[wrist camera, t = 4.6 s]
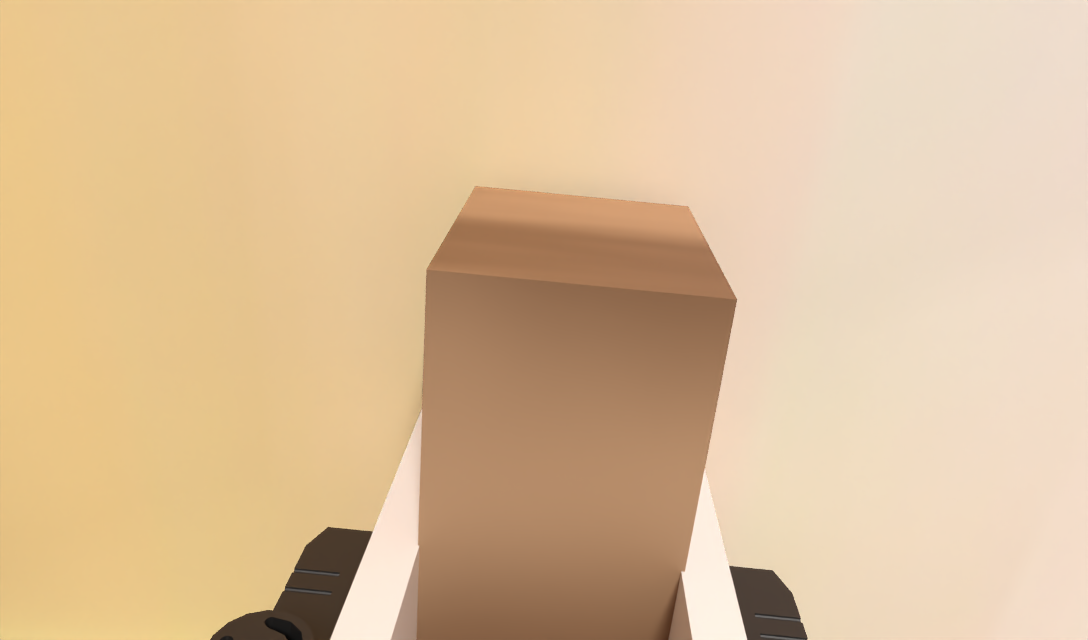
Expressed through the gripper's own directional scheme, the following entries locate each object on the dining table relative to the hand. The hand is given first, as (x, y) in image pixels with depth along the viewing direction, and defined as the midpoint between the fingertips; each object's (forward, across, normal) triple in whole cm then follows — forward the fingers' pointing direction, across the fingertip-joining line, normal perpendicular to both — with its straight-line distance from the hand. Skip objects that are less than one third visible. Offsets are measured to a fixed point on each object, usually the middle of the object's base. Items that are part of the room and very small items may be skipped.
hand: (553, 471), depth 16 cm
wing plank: (+1, 0, 0) cm, 1 cm away
